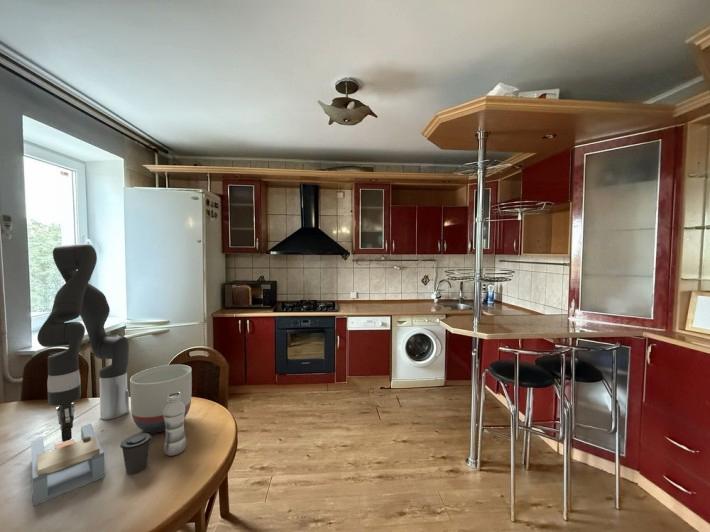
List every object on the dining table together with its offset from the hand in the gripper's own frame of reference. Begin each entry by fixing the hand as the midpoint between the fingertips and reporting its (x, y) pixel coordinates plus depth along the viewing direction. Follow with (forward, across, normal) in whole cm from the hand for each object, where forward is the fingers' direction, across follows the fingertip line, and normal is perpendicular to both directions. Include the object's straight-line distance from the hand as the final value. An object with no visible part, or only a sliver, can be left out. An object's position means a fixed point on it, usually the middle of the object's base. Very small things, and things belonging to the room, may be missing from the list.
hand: (66, 439), depth 97 cm
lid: (+2, -8, 0) cm, 8 cm away
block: (+8, +4, 0) cm, 9 cm away
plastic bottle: (+10, -17, -26) cm, 32 cm away
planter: (+10, +4, -28) cm, 30 cm away
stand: (+9, 0, 0) cm, 9 cm away
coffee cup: (+9, -17, -15) cm, 24 cm away
